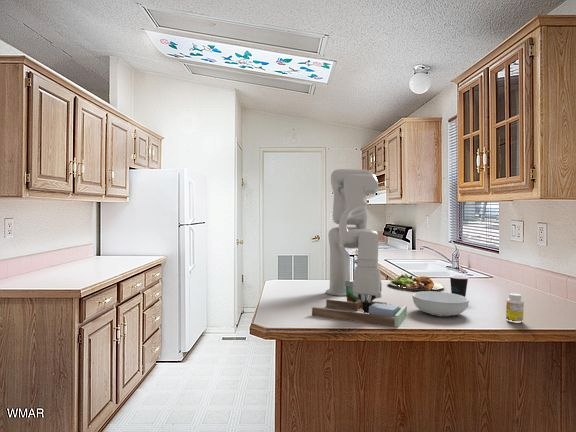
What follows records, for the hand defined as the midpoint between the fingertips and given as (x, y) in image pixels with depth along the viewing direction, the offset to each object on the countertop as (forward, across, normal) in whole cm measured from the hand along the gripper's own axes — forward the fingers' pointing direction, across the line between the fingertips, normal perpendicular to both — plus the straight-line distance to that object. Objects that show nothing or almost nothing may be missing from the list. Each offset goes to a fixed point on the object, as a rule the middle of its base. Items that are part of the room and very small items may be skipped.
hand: (366, 312), depth 161 cm
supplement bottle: (+2, +50, +19) cm, 54 cm away
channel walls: (+2, -4, +3) cm, 5 cm away
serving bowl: (+2, +24, +19) cm, 31 cm away
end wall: (+2, +13, 0) cm, 13 cm away
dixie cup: (+2, +29, +46) cm, 55 cm away
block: (+2, +7, -2) cm, 7 cm away
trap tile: (+2, -2, +10) cm, 10 cm away
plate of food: (+2, +7, +72) cm, 72 cm away
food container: (+2, -8, +19) cm, 21 cm away
